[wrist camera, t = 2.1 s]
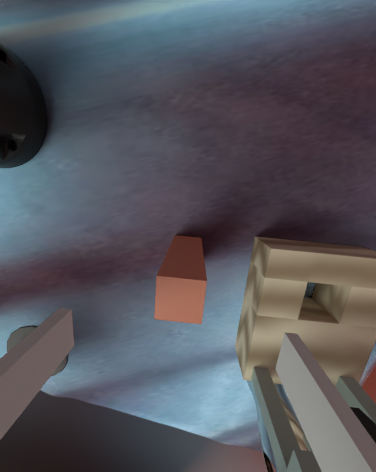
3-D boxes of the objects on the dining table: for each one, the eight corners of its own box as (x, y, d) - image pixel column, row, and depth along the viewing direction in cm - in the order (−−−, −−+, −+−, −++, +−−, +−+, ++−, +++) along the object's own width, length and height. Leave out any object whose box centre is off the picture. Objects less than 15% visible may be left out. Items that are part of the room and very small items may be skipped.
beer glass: (250, 395, 35) (288, 539, 21) (238, 367, 34) (271, 501, 19) (286, 385, 34) (353, 529, 20) (276, 356, 33) (340, 488, 18)
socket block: (255, 236, 28) (270, 248, 22) (362, 246, 28) (407, 261, 22) (234, 346, 33) (243, 379, 27) (326, 356, 32) (355, 392, 27)
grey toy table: (251, 339, 25) (303, 475, 13) (371, 352, 25) (535, 503, 13) (243, 379, 27) (282, 533, 15) (355, 392, 27) (487, 558, 15)
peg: (175, 235, 28) (156, 275, 15) (201, 237, 28) (206, 280, 15) (173, 259, 29) (154, 319, 16) (198, 262, 29) (201, 324, 16)
